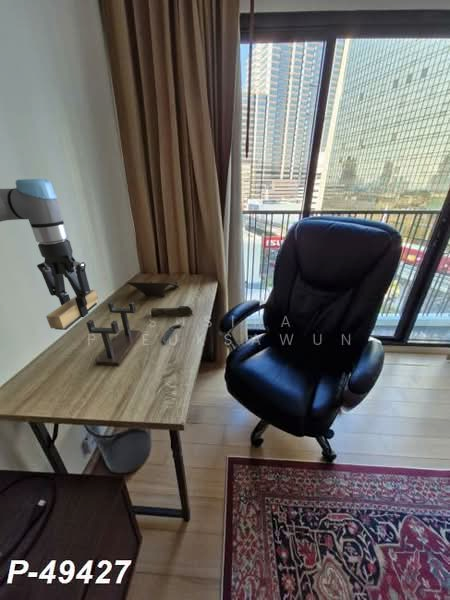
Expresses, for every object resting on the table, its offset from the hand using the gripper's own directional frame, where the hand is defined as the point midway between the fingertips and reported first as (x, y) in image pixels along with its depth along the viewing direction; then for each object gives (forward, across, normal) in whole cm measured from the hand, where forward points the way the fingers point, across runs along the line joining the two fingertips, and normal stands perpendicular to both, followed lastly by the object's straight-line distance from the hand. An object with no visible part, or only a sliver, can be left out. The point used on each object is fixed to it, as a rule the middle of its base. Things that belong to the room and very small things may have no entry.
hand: (77, 314), depth 79 cm
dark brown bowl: (+20, -2, -60) cm, 63 cm away
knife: (+20, -22, -20) cm, 36 cm away
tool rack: (+20, -5, -10) cm, 23 cm away
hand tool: (+21, -18, -36) cm, 45 cm away
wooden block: (0, 0, 0) cm, 0 cm away
